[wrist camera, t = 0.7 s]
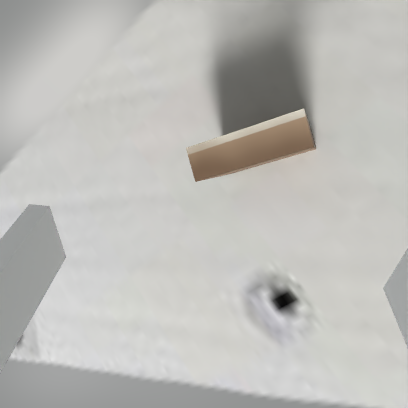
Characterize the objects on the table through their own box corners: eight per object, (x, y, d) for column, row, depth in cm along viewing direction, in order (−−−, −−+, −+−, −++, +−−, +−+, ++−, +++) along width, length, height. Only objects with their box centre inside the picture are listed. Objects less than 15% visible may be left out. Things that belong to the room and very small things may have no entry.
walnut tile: (224, 149, 39) (185, 147, 28) (308, 122, 36) (303, 108, 24) (230, 173, 39) (195, 181, 28) (316, 149, 36) (314, 147, 25)
